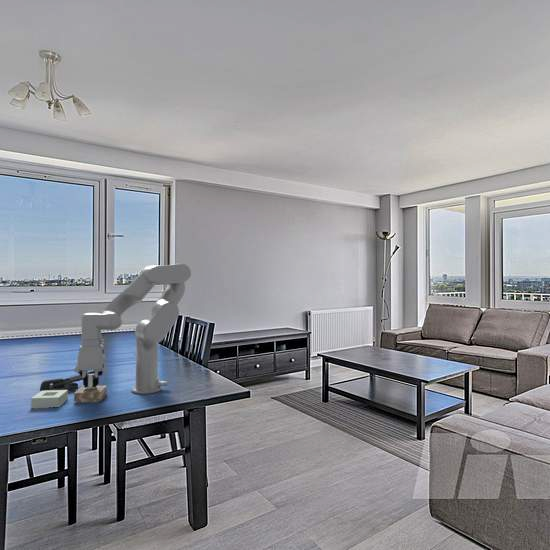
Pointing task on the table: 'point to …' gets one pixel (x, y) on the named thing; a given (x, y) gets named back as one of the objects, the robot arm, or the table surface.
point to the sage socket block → (49, 399)
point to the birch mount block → (90, 394)
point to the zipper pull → (62, 383)
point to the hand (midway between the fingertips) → (90, 386)
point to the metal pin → (90, 382)
